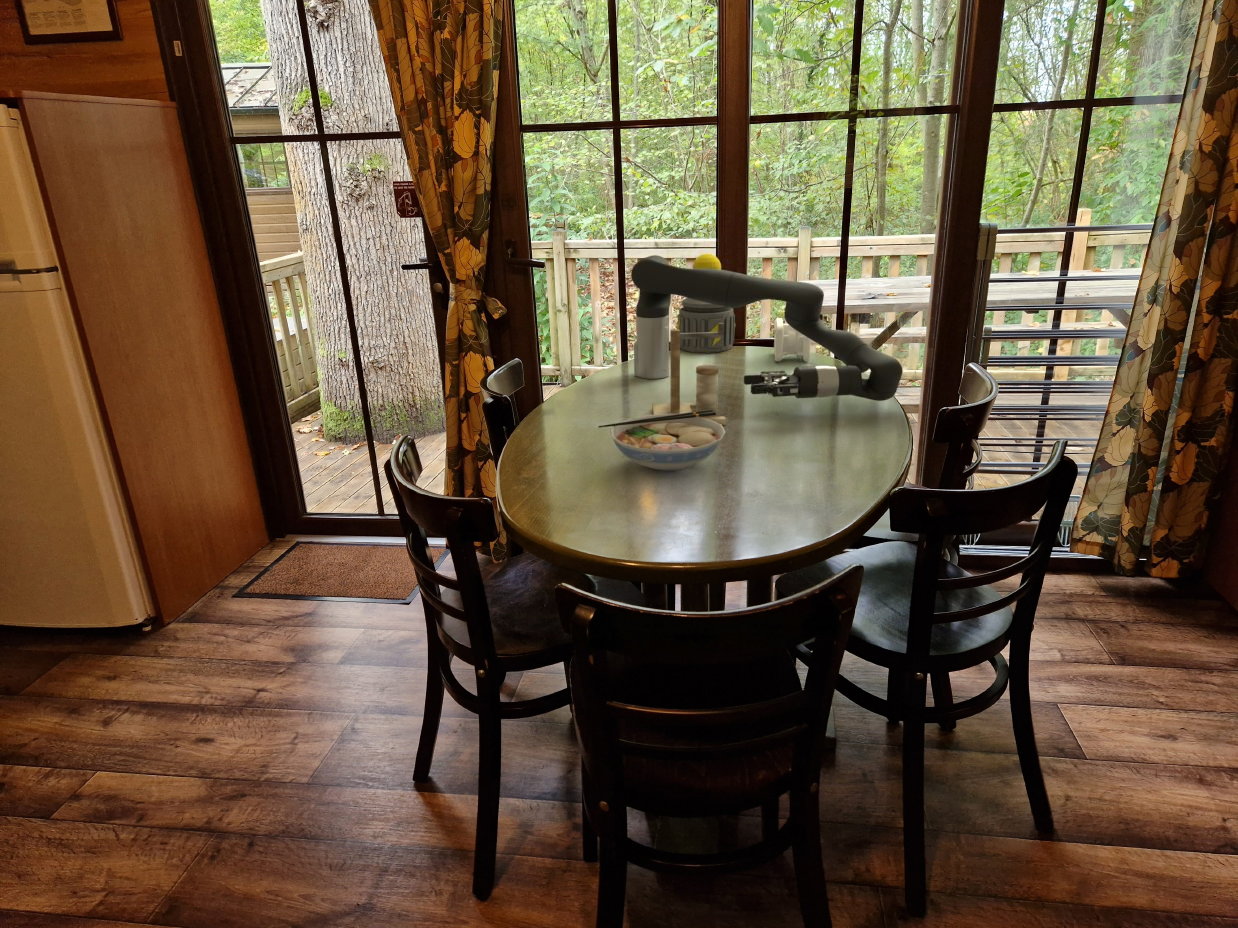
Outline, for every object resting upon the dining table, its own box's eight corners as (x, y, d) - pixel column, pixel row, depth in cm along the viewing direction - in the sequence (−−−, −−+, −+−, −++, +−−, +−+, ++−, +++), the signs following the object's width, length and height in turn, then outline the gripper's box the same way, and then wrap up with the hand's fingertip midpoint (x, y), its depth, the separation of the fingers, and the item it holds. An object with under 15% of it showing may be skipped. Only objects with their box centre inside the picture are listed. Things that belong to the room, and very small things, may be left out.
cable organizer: (809, 364, 233) (812, 325, 229) (773, 364, 235) (775, 325, 231) (806, 353, 247) (809, 316, 243) (772, 352, 249) (774, 316, 245)
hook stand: (716, 407, 194) (718, 318, 186) (725, 425, 181) (728, 329, 173) (652, 410, 194) (651, 320, 186) (656, 427, 181) (655, 331, 173)
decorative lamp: (721, 339, 269) (723, 249, 259) (743, 350, 252) (746, 254, 242) (669, 344, 265) (669, 252, 254) (688, 355, 248) (688, 258, 237)
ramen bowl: (623, 494, 145) (622, 452, 142) (593, 454, 165) (592, 416, 162) (748, 477, 151) (750, 437, 148) (705, 440, 171) (705, 404, 168)
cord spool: (692, 418, 187) (692, 369, 182) (700, 412, 191) (701, 364, 187) (712, 421, 184) (713, 371, 180) (720, 415, 188) (721, 366, 184)
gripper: (808, 359, 191) (742, 362, 190) (825, 373, 178) (754, 376, 177) (806, 389, 194) (741, 392, 193) (823, 405, 180) (753, 408, 180)
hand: (747, 384), depth 185 cm, fingers open, 8 cm apart
